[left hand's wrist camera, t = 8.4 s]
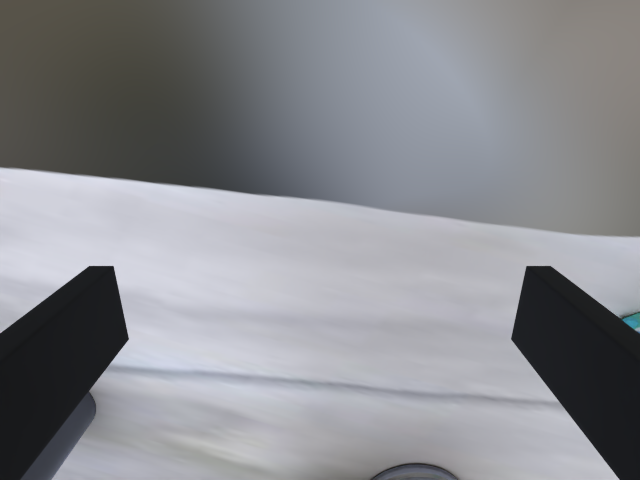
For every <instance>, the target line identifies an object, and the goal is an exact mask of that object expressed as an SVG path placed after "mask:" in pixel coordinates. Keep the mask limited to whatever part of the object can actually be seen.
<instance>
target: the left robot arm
mask: <svg viewBox="0 0 640 480" xmlns="http://www.w3.org/2000/svg"><path fill="white" fill-rule="evenodd" d="M128 340H129V338H128V333H127V328H126V323H125V319H124V314H123V309H122V304H121V300H120V295H119V290H118V285H117V281H116V276H115V271H114V266H89V267H88V268H86V269H85V270H84V271H82V272H81V273H80V274H78V275H77V276H76V277H74V278H73V279H72V280H70V281H69V282H68V283H66V284H65V285H64V286H62V287H61V288H60V289H58V290H57V291H56V292H55V293H53V294H52V295H51V296H49V297H48V298H47V299H45V300H44V301H43V302H41V303H40V304H39V305H37V306H36V307H35V308H33V309H32V310H31V311H29V312H28V313H27V314H25V315H24V316H23V317H21V318H20V319H19V320H17V321H16V322H15V323H14V324H12V325H11V326H10V327H8V328H7V329H6V330H4V331H3V332H2V333H0V480H20V479H21V478H22V477H23V476H24V474H25V473H26V472H27V470H28V469H29V468H30V466H31V465H32V464H33V463H34V461H35V460H36V459H37V457H38V456H39V455H40V454H41V452H42V451H43V450H44V448H45V447H46V446H47V444H48V443H49V442H50V441H51V439H52V438H53V437H54V435H55V434H56V433H57V432H58V430H59V429H60V428H61V426H62V425H63V424H64V422H65V421H66V420H67V419H68V417H69V416H70V415H71V413H72V412H73V411H74V410H75V408H76V407H77V406H78V404H79V403H80V402H81V400H82V399H83V398H84V397H85V395H86V394H87V393H88V391H89V390H90V389H91V387H92V386H93V385H94V384H95V382H96V381H97V380H98V378H99V377H100V376H101V375H102V373H103V372H104V371H105V369H106V368H107V367H108V365H109V364H110V363H111V362H112V360H113V359H114V358H115V356H116V355H117V354H118V353H119V351H120V350H121V349H122V347H123V346H124V345H125V343H126V342H127V341H128ZM511 340H512V341H513V342H514V343H515V345H516V346H517V347H518V349H519V350H520V351H521V353H522V354H523V355H524V356H525V358H526V359H527V360H528V362H529V363H530V364H531V365H532V367H533V368H534V369H535V371H536V372H537V373H538V375H539V376H540V377H541V378H542V380H543V381H544V382H545V384H546V385H547V386H548V387H549V389H550V390H551V391H552V393H553V394H554V395H555V397H556V398H557V399H558V400H559V402H560V403H561V404H562V406H563V407H564V408H565V410H566V411H567V412H568V413H569V415H570V416H571V417H572V419H573V420H574V421H575V422H576V424H577V425H578V426H579V428H580V429H581V430H582V432H583V433H584V434H585V435H586V437H587V438H588V439H589V441H590V442H591V443H592V444H593V446H594V447H595V448H596V450H597V451H598V452H599V454H600V455H601V456H602V457H603V459H604V460H605V461H606V463H607V464H608V465H609V466H610V468H611V469H612V470H613V472H614V473H615V474H616V476H617V477H618V478H619V479H620V480H640V333H638V332H637V331H636V330H634V329H633V328H632V327H630V326H629V325H628V324H626V323H625V322H624V321H623V320H621V319H620V318H619V317H617V316H616V315H615V314H613V313H612V312H611V311H609V310H608V309H607V308H605V307H604V306H603V305H601V304H600V303H599V302H597V301H596V300H595V299H593V298H592V297H591V296H589V295H588V294H587V293H585V292H584V291H583V290H582V289H580V288H579V287H578V286H576V285H575V284H574V283H572V282H571V281H570V280H568V279H567V278H566V277H564V276H563V275H562V274H560V273H559V272H558V271H556V270H555V269H554V268H552V267H551V266H526V271H525V276H524V281H523V285H522V290H521V295H520V300H519V304H518V309H517V314H516V319H515V323H514V328H513V333H512V338H511ZM372 480H457V479H456V478H455V477H454V476H453V475H452V474H450V473H449V472H447V471H445V470H443V469H440V468H437V467H434V466H429V465H418V464H416V465H404V466H399V467H395V468H392V469H389V470H387V471H385V472H383V473H381V474H379V475H378V476H376V477H375V478H373V479H372Z"/></svg>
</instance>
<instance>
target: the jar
mask: <svg viewBox="0 0 640 480" xmlns="http://www.w3.org/2000/svg"><path fill="white" fill-rule="evenodd" d="M95 413H96V406H95V402H94V400H93V397H92V396H91V394H90V393H89V392H88V393H87V394H86V395H85V397H84V398H83V399H82V400H81V402H80V403H79V404H78V406H77V407H76V408H75V410H74V411H73V412H72V413H71V415H70V416H69V417H68V419H67V420H66V421H65V422H64V424H63V425H62V426H61V428H60V429H59V430H58V432H57V433H56V434H55V435H54V437H53V438H52V439H51V441H50V442H49V443H48V444H47V446H46V447H45V448H44V450H43V451H42V452H41V454H40V455H39V456H38V457H37V459H36V460H35V461H34V463H33V464H32V465H31V466H30V468H29V469H28V470H27V472H26V473H25V474H24V476H23V477H22V478H21V479H20V480H51V479H52V478H53V477H54V475H55V474H56V472H57V471H58V469H59V468H60V466H61V465H62V464H63V462H64V461H65V459H66V458H67V456H68V455H69V453H70V452H71V451H72V449H73V448H74V446H75V445H76V443H77V442H78V440H79V439H80V438H81V436H82V435H83V433H84V432H85V430H86V429H87V427H88V426H89V425H90V423H91V422H92V420H93V419H94V416H95Z"/></svg>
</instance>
